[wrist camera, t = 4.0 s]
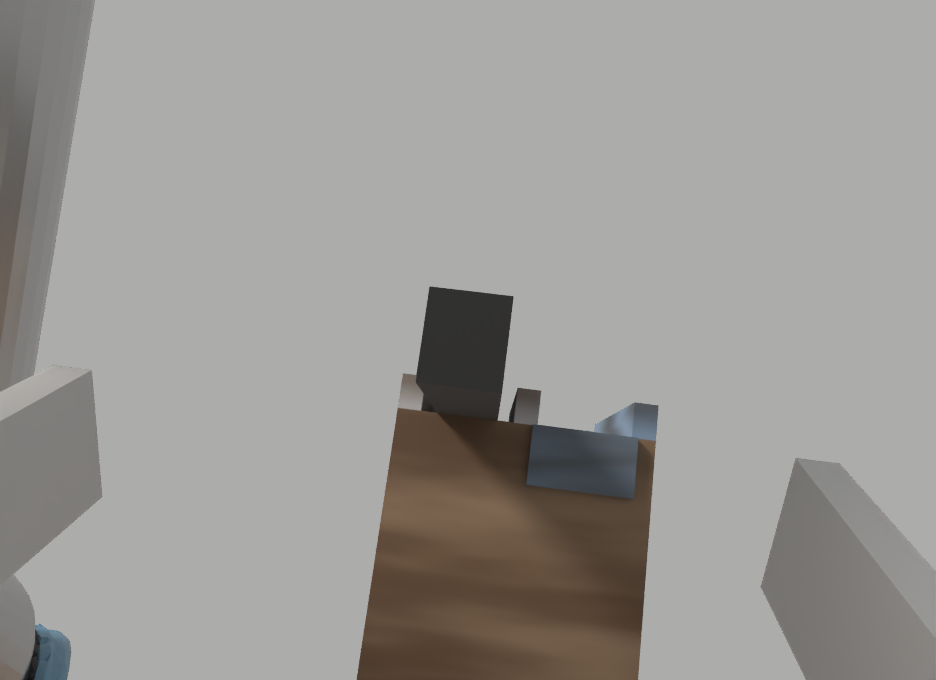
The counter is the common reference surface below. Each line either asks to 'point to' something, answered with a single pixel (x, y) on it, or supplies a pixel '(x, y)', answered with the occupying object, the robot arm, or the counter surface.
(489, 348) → the bar
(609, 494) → the wooden block tower
